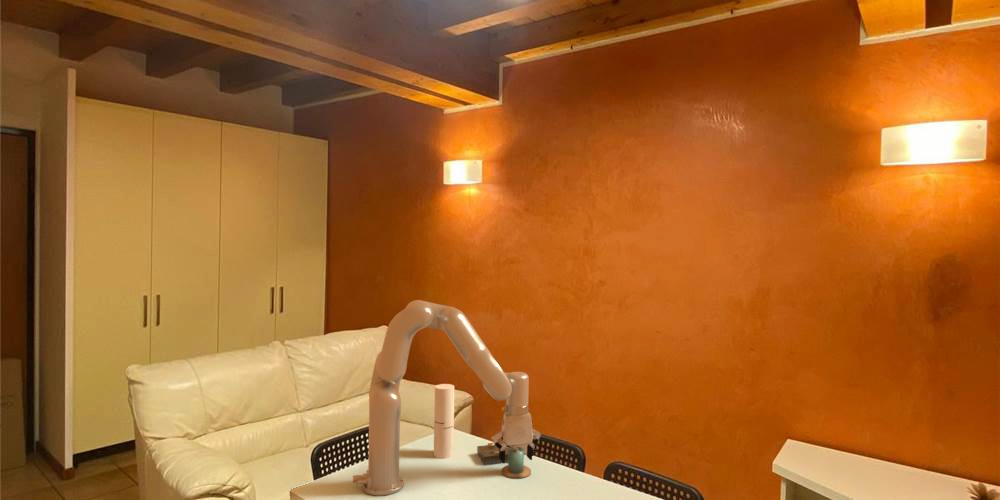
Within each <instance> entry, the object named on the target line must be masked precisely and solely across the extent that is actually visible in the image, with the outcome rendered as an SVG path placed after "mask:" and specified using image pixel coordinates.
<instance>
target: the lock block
mask: <svg viewBox="0 0 1000 500" xmlns="http://www.w3.org/2000/svg"><path fill="white" fill-rule="evenodd" d="M476 449H477V451H476V453H477V454H476V455H477V456H478V458H479V459H480V461H481V463H482V464H483V465H484V466H492V465H499V464H501V463H502V464H508V453H509V448H507V447H506V448H505V449H504V450H505V463H503V462H502V461H501V460H500V459H499V448H498V447H497V446H496V445H495V444H494V442H490V443H489V442H488V443H487V445H477V446H476ZM502 464H501V465H502Z"/></svg>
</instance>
